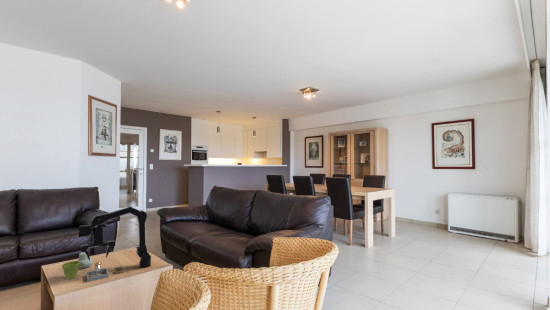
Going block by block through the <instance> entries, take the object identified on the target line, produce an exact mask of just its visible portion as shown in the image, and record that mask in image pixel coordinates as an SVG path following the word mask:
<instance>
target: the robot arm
mask: <svg viewBox="0 0 550 310" xmlns="http://www.w3.org/2000/svg"><path fill="white" fill-rule="evenodd" d="M127 214H130V215H134V216H135V217H136V220H137V222H138V223H137V224H138V246H135V248H136V251H135V254H136V255H137V256H138V258H140V259H139V263H138V266H139V269H146V268H149V267H151V266H152V261H151V260H152V255H151V254H150V253H149V252H148V249H147V245H146V221H147V217H148V216H147V215H148V214H147V212H146V211H145V210H142V209H141V210H139V209H137V208H135V207H132V206H127V207H124V208H120V209H118V210H113V211H111V212H106V213H97V214H95V215H94V216H93V218H92V221H91V222H90V224H86V225H79V226H78V238H84V237H89V243H92V244H90V245H89V244H88V243H85V244H81V245H80V248H79V252H85V253H86V255H87V257H88V259H89V261H90V258H91V256H90V251H89V250H90V249H92V248H93V249H94V248H95V249H96V248H99V247H106V253H105V258H108V255H109V253H110V252H111V249H113V248H114V247H116V240H115V239H111V240H107V242H104V228H107V227H108V225H107V224H106V222H108V221H109V220H111V219H115V218H117V217H122V216H124V215H127ZM90 235H92V236H91V237H90Z"/></svg>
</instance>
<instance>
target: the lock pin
mask: <svg viewBox="0 0 550 310" xmlns="http://www.w3.org/2000/svg"><path fill="white" fill-rule="evenodd" d="M93 265H94V271H95V275H94V276H98V275H102V273H101V269H102V267H101V265H102V261H96V262H93Z"/></svg>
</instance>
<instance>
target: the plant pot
mask: <svg viewBox="0 0 550 310" xmlns="http://www.w3.org/2000/svg"><path fill="white" fill-rule="evenodd" d="M79 263H80V261H77V260H71V261H68V262H65V263H63V264H61V267H62V269H63V275H64V276H63V277H64V279H66V280H70V279H71V280H72V279H74V278H76V277H77V276H78V271H79V268H78V266H79Z"/></svg>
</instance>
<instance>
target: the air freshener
mask: <svg viewBox="0 0 550 310" xmlns="http://www.w3.org/2000/svg"><path fill="white" fill-rule="evenodd" d="M76 261H80V263H79V266H78V270H79V269H80V270H83V269H84V270H85V269H87V268H89V267H91V266H92V265H94V260H93V258H92V257H90V261H89V259H88V257H87V255H86V253H85V252H83V251H81V252H79V254H78V259H77V260H76Z"/></svg>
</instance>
